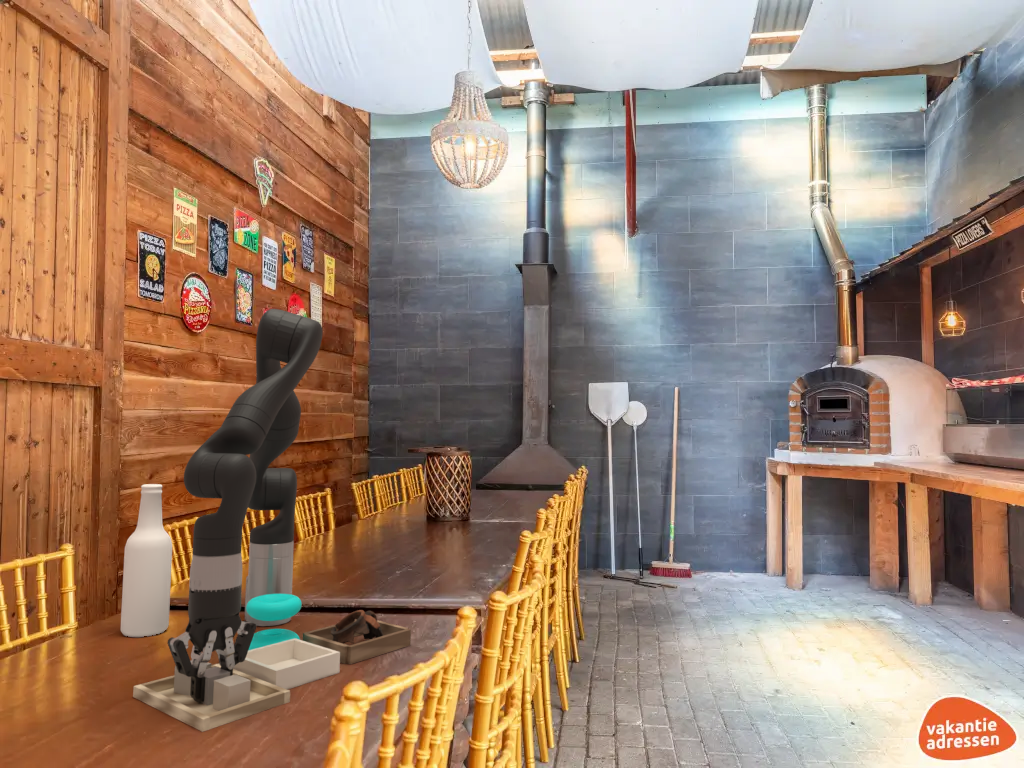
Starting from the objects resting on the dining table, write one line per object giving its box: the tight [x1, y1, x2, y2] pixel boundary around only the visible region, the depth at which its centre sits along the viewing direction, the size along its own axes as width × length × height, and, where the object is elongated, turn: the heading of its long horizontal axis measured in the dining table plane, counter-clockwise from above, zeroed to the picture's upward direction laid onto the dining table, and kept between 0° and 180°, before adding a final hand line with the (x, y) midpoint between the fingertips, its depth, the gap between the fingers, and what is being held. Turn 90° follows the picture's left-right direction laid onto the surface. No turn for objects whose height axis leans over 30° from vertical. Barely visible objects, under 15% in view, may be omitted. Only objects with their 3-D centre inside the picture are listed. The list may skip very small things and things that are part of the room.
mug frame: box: [302, 619, 412, 665], centre depth 138 cm, size 14×16×3 cm
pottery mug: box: [331, 609, 383, 645], centre depth 138 cm, size 12×10×8 cm
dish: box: [233, 638, 341, 690], centre depth 121 cm, size 13×13×4 cm
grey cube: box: [201, 667, 230, 706], centre depth 109 cm, size 4×4×4 cm
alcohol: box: [120, 483, 173, 638], centre depth 147 cm, size 9×9×30 cm
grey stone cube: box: [174, 659, 213, 696], centre depth 112 cm, size 4×4×4 cm
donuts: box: [246, 594, 302, 650], centre depth 135 cm, size 10×10×10 cm
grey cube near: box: [213, 674, 251, 711], centre depth 106 cm, size 4×4×4 cm
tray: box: [132, 663, 291, 733], centre depth 109 cm, size 20×14×2 cm
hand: (211, 696), depth 109 cm, fingers closed on grey cube, 3 cm apart
